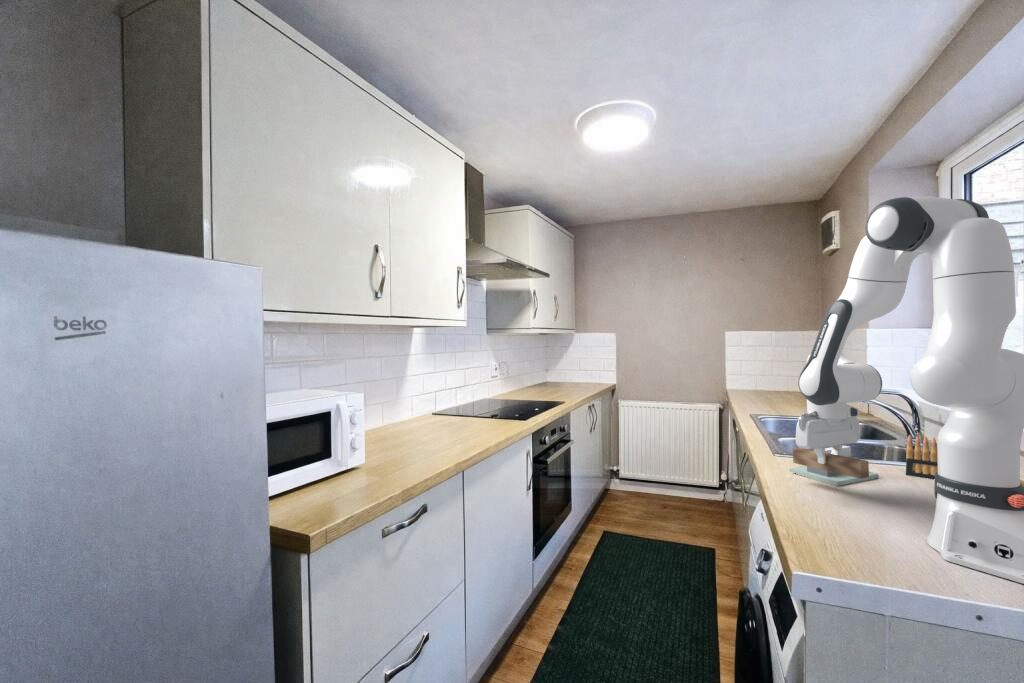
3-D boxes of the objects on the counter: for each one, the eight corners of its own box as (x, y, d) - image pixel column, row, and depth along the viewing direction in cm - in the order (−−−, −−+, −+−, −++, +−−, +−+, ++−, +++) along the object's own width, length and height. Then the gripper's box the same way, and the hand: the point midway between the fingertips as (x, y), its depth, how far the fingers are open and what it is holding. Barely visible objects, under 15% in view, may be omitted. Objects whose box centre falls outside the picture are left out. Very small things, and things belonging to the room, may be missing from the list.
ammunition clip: (905, 475, 135) (905, 434, 135) (906, 473, 137) (905, 433, 136) (956, 482, 128) (955, 440, 128) (956, 481, 129) (955, 439, 129)
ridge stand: (878, 477, 133) (878, 450, 133) (836, 486, 126) (836, 457, 126) (829, 465, 146) (829, 440, 146) (789, 472, 139) (789, 446, 139)
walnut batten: (869, 477, 115) (868, 461, 115) (861, 478, 114) (860, 462, 114) (800, 461, 131) (800, 447, 131) (793, 462, 130) (792, 448, 130)
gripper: (810, 414, 116) (813, 469, 116) (863, 409, 123) (865, 460, 123) (787, 412, 122) (789, 464, 122) (839, 406, 129) (841, 456, 129)
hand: (828, 462), depth 122 cm, fingers closed on walnut batten, 3 cm apart
